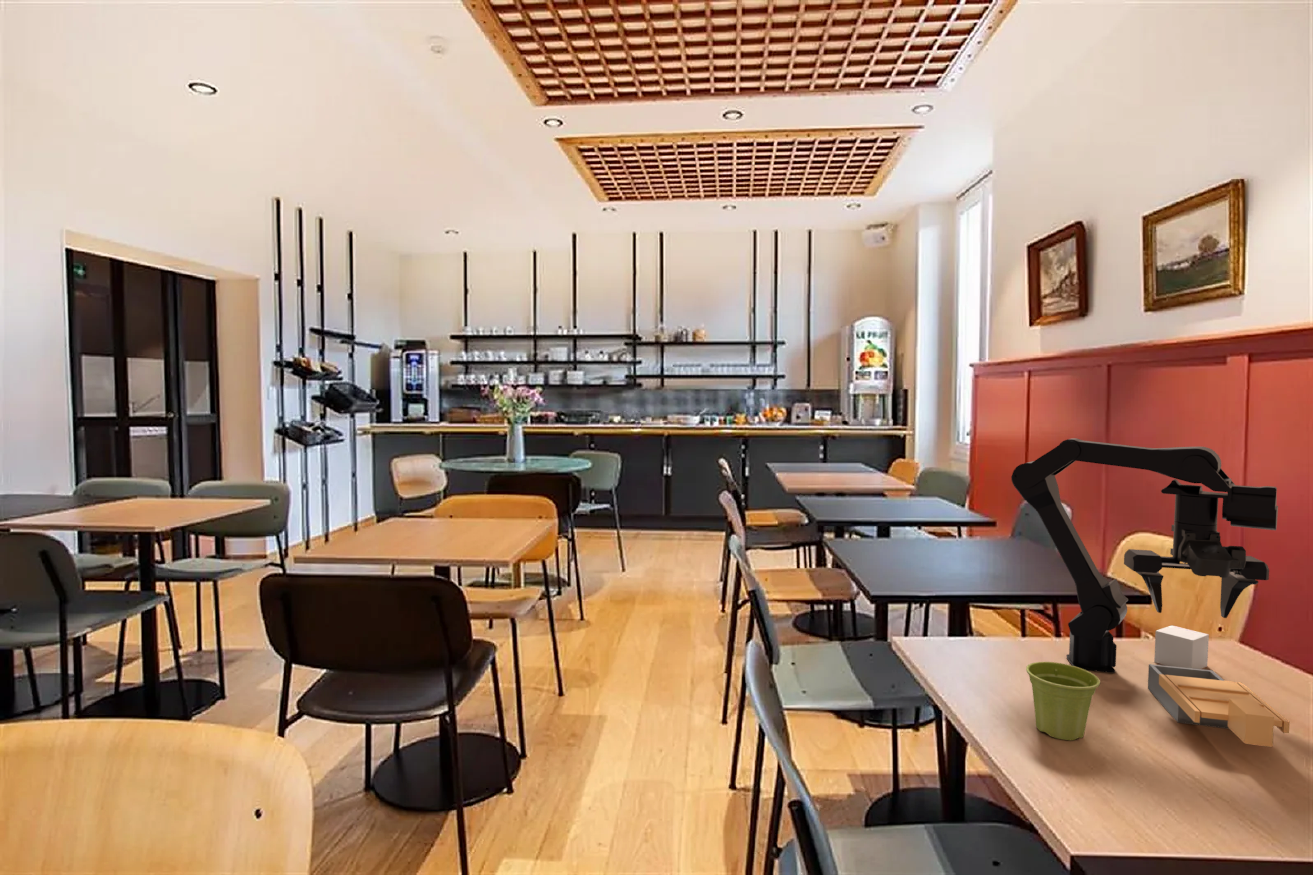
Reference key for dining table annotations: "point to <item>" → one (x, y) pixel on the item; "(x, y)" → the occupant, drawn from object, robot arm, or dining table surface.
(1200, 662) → the white cube
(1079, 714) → the plant pot
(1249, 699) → the lid
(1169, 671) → the tub
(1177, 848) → the dining table surface
